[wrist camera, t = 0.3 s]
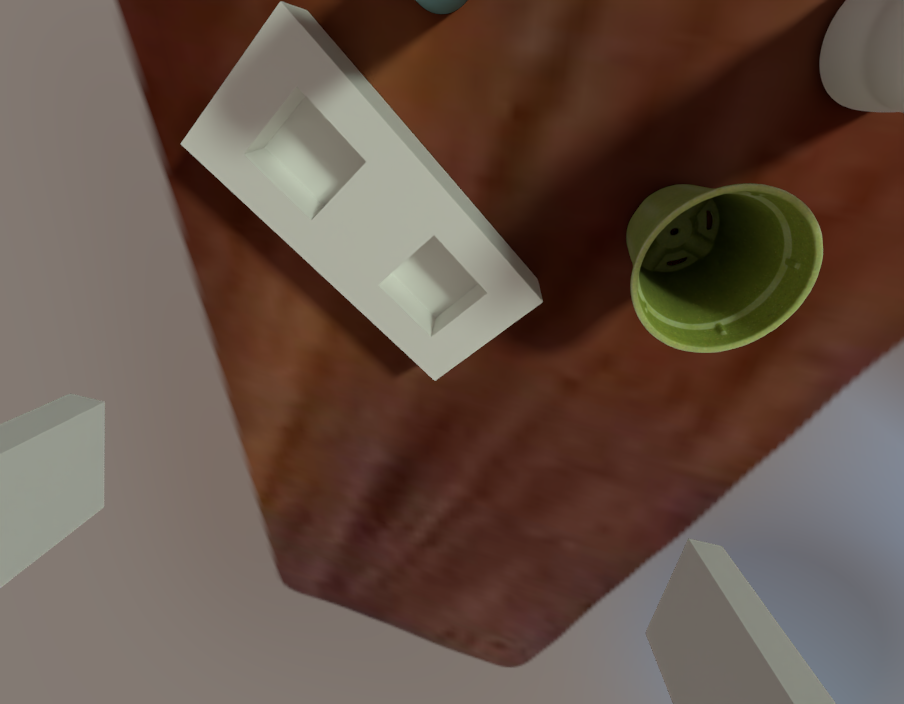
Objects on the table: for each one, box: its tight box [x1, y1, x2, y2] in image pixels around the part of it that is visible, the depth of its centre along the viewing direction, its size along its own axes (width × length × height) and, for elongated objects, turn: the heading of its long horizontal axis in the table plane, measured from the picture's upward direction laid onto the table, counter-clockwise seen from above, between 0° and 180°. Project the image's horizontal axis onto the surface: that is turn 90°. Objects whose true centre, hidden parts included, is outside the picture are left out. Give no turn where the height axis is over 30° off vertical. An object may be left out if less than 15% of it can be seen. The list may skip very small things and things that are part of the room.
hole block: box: [181, 1, 543, 381], centre depth 31 cm, size 10×22×4 cm, turn 42°
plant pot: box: [626, 183, 823, 353], centre depth 28 cm, size 9×9×9 cm
